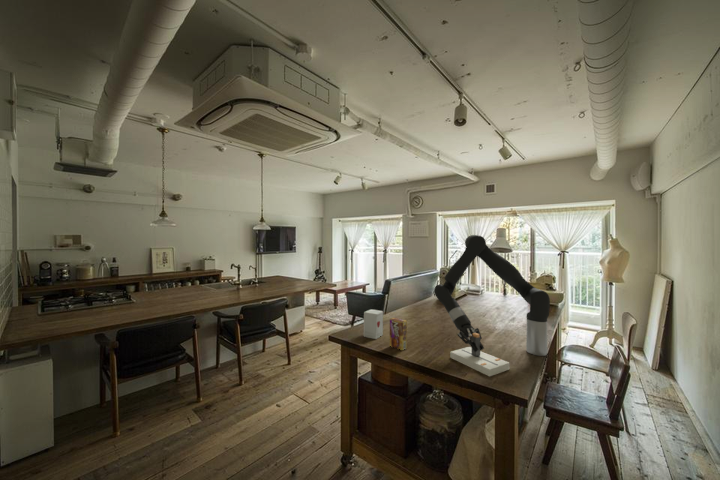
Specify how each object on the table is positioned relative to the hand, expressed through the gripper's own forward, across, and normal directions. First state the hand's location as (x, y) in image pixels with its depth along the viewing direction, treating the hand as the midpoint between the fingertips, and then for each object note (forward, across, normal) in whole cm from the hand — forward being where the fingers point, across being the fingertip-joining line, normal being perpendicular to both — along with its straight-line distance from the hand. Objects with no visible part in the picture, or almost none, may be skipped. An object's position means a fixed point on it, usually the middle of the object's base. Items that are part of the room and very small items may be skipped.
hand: (479, 350), depth 134 cm
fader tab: (+1, 0, +4) cm, 4 cm away
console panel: (+4, 0, +5) cm, 7 cm away
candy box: (-20, -22, +29) cm, 41 cm away
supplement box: (-35, -24, +45) cm, 62 cm away
